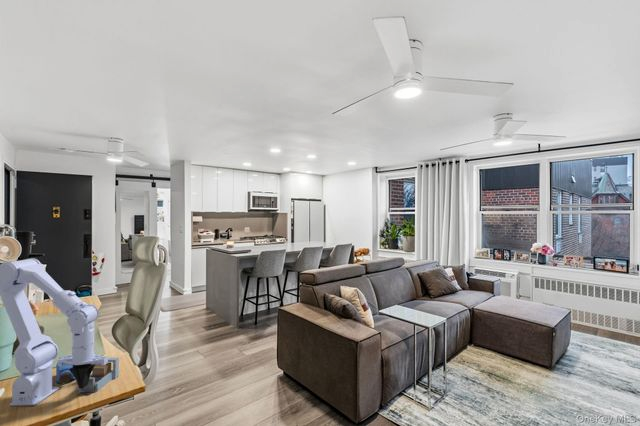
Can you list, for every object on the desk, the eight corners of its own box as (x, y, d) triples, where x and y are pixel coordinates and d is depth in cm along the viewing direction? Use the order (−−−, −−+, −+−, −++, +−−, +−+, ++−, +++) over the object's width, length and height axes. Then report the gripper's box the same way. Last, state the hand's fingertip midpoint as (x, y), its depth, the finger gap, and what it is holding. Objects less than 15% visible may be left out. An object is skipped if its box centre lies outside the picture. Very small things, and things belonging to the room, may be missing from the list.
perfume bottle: (80, 353, 118) (76, 367, 108) (80, 370, 118) (76, 385, 108) (59, 357, 115) (53, 371, 105) (59, 374, 115) (53, 390, 105)
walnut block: (104, 379, 109) (104, 368, 109) (92, 379, 109) (92, 368, 109) (111, 373, 113) (111, 362, 113) (99, 374, 113) (99, 362, 113)
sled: (93, 390, 104) (93, 378, 104) (80, 391, 104) (80, 378, 104) (112, 375, 114) (112, 364, 114) (101, 375, 114) (101, 364, 114)
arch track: (96, 394, 102) (96, 374, 102) (70, 395, 102) (71, 374, 102) (125, 370, 118) (125, 352, 118) (103, 370, 118) (103, 352, 118)
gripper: (113, 339, 106) (113, 380, 106) (69, 339, 106) (69, 380, 106) (99, 348, 99) (99, 391, 99) (52, 348, 99) (52, 392, 99)
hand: (83, 386), depth 102 cm, fingers closed
